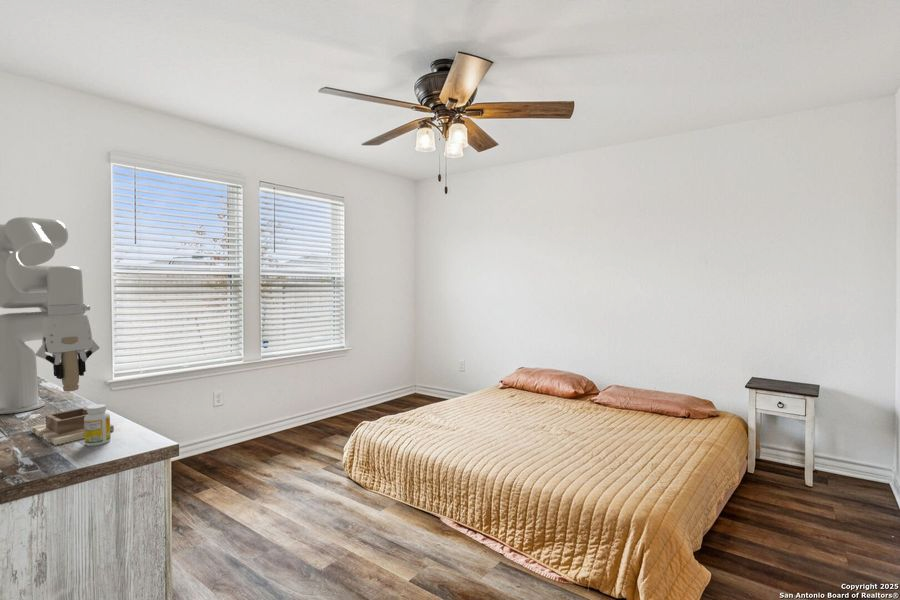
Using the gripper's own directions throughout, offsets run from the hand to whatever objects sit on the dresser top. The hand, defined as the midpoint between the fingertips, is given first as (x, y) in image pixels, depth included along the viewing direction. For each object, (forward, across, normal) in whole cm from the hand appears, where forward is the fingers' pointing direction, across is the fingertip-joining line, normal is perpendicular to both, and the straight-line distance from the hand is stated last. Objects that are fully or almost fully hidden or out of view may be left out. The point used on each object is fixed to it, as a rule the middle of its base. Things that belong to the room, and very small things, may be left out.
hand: (70, 376), depth 127 cm
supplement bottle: (+16, 0, +16) cm, 23 cm away
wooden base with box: (+16, 0, 0) cm, 16 cm away
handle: (+4, 0, 0) cm, 4 cm away
